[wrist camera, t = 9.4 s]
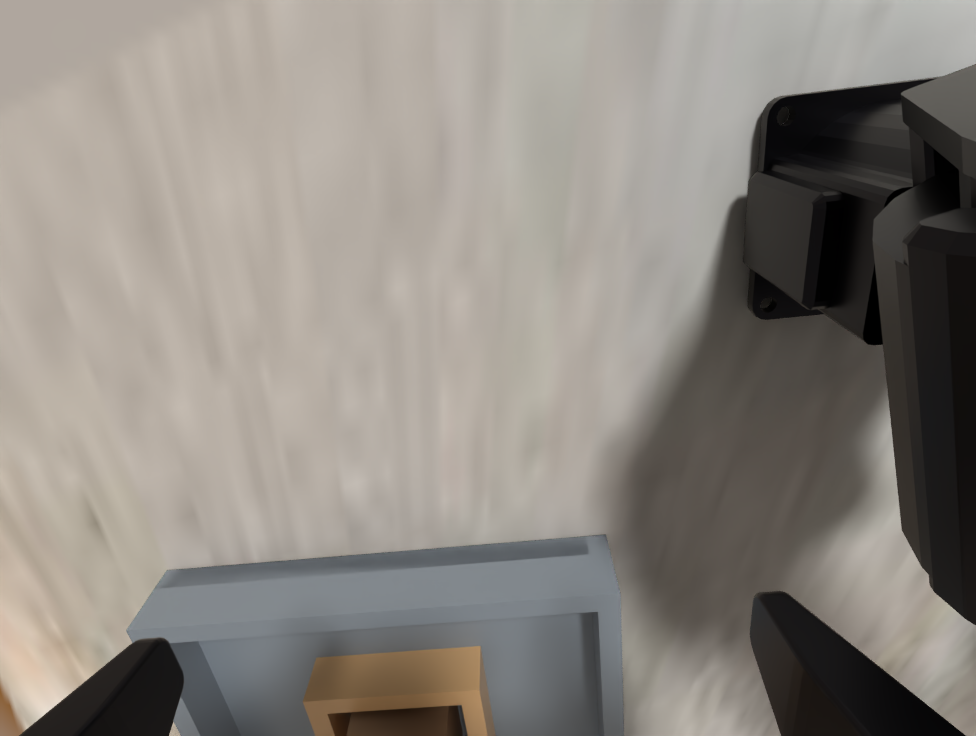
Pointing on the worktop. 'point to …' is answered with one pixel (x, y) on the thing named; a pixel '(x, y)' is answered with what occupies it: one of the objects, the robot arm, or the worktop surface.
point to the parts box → (398, 640)
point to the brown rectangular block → (407, 722)
